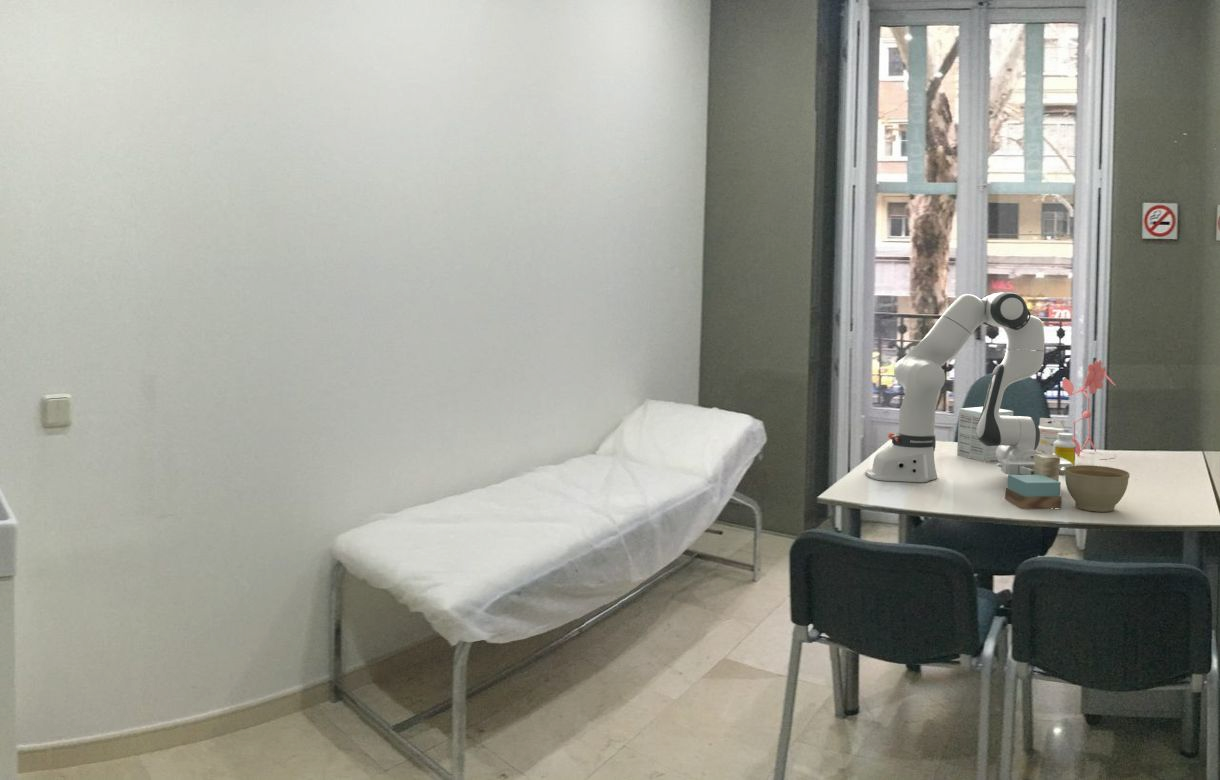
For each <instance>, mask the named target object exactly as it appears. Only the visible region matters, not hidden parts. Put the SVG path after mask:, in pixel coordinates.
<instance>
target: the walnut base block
mask: <svg viewBox="0 0 1220 780" xmlns="http://www.w3.org/2000/svg"><path fill="white" fill-rule="evenodd" d="M1004 499H1006V500H1005V501H1007V502H1009V503H1010V504H1012V505H1014V506H1015V507H1017V508H1019V509H1020V510H1056V509H1055V508H1061V509H1062V496H1061V495H1060V496H1042V497H1025V496H1023V495H1021V494H1018V493H1016V492H1014V491H1012V490H1010V489H1008V487H1005V495H1004ZM1051 508H1053V509H1051Z"/></svg>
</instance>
